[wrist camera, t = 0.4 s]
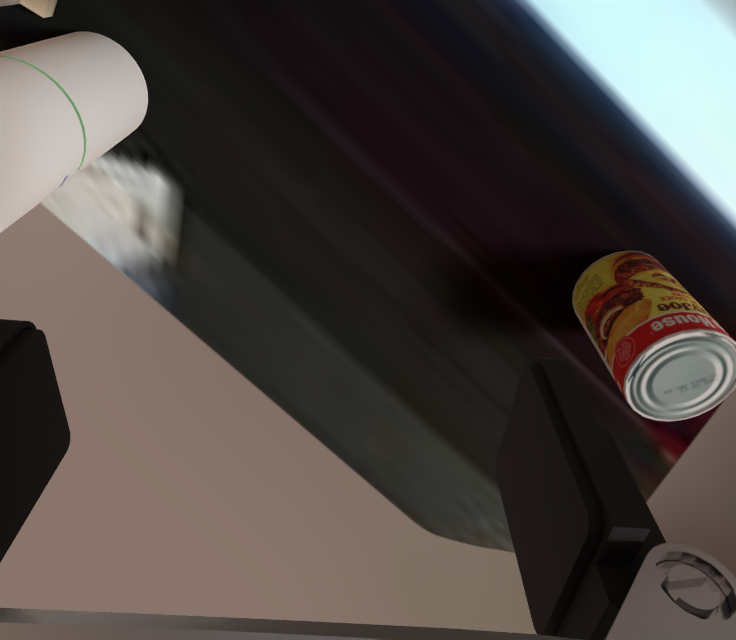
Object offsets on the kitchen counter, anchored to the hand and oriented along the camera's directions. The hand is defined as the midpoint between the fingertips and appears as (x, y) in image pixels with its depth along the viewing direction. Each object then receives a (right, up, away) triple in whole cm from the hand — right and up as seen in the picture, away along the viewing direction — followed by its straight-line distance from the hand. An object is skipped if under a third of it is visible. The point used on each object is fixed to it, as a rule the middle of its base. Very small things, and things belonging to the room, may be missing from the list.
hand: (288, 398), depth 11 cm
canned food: (+23, +4, +38) cm, 45 cm away
